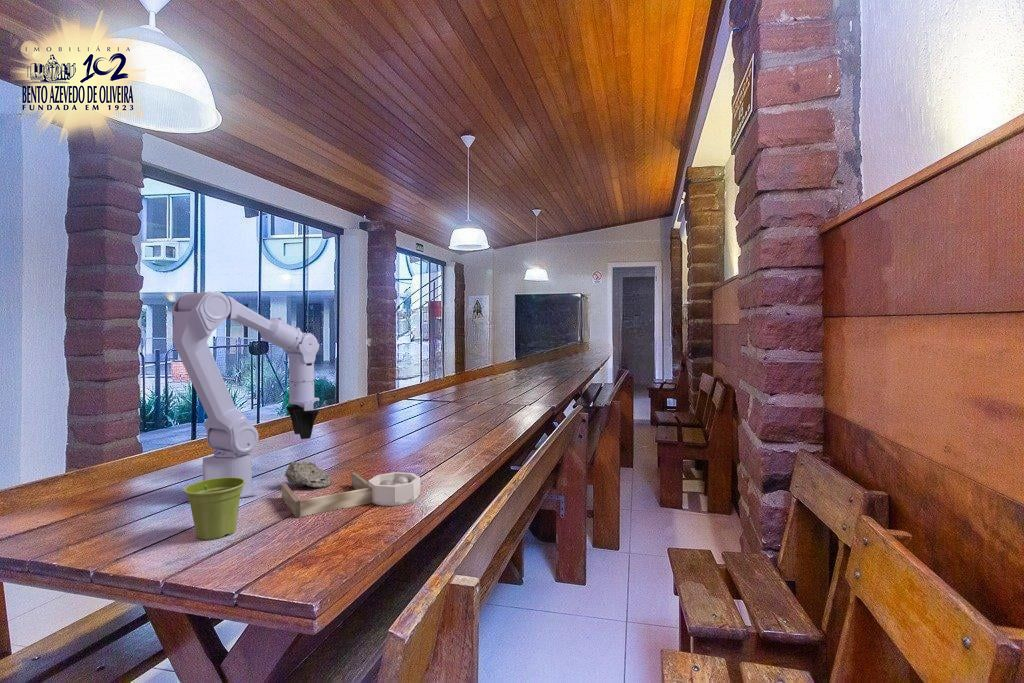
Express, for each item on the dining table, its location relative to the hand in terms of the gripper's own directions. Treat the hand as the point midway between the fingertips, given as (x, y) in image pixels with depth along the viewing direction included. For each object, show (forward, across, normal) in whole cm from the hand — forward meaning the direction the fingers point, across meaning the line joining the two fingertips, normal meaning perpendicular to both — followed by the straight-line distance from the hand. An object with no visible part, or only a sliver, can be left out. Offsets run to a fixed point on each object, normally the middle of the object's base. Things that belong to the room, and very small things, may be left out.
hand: (302, 436), depth 127 cm
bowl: (+9, -30, -12) cm, 34 cm away
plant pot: (+10, -30, +21) cm, 38 cm away
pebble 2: (+7, -33, -12) cm, 35 cm away
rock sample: (+10, -10, 0) cm, 14 cm away
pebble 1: (+7, -29, -10) cm, 32 cm away
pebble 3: (+7, -28, -14) cm, 33 cm away
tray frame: (+9, -23, 0) cm, 25 cm away
